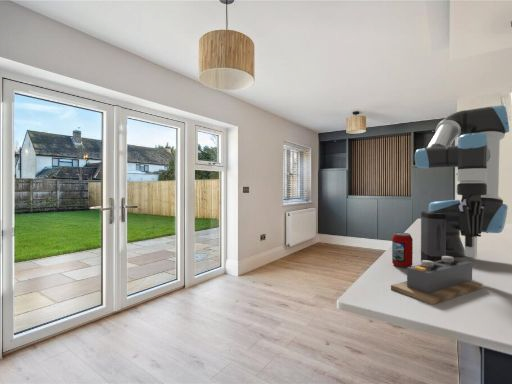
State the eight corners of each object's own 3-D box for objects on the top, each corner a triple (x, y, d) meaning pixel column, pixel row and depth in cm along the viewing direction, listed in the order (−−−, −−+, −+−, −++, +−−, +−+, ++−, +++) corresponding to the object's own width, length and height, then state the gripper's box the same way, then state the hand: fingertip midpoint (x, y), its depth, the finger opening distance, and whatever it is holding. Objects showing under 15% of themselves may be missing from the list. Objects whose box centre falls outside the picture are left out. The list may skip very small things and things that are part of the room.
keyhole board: (439, 276, 93) (439, 250, 93) (482, 288, 82) (482, 259, 82) (390, 289, 82) (390, 260, 82) (433, 304, 71) (433, 271, 71)
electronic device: (447, 270, 100) (448, 213, 99) (428, 269, 101) (429, 213, 100) (436, 263, 109) (436, 211, 108) (419, 262, 110) (419, 211, 109)
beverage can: (388, 263, 109) (388, 232, 109) (405, 262, 109) (405, 232, 109) (398, 268, 102) (399, 235, 102) (416, 267, 103) (416, 235, 102)
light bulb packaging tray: (450, 274, 91) (450, 256, 91) (472, 280, 85) (472, 260, 85) (407, 286, 80) (407, 265, 80) (428, 293, 75) (428, 271, 75)
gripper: (469, 183, 96) (468, 252, 96) (447, 182, 90) (446, 256, 90) (496, 182, 90) (495, 257, 90) (474, 182, 84) (473, 261, 84)
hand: (470, 256), depth 90 cm, fingers closed
